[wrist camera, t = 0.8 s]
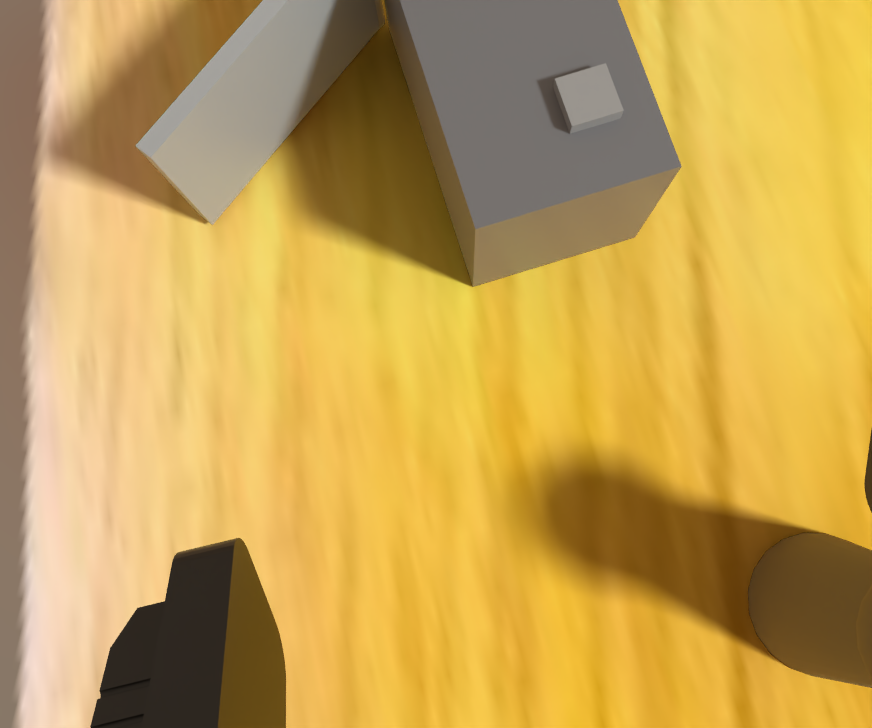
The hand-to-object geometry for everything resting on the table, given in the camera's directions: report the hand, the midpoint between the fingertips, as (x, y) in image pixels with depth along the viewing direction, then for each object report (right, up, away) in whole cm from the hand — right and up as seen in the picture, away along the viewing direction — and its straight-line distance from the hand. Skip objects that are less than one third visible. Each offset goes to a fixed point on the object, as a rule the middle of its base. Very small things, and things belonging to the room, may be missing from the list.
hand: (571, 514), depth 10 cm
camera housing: (+2, +13, +28) cm, 31 cm away
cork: (+15, -8, +24) cm, 30 cm away
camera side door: (-9, +14, +28) cm, 33 cm away
